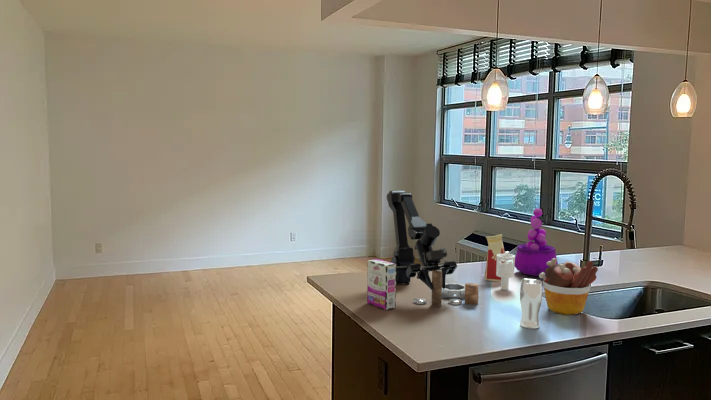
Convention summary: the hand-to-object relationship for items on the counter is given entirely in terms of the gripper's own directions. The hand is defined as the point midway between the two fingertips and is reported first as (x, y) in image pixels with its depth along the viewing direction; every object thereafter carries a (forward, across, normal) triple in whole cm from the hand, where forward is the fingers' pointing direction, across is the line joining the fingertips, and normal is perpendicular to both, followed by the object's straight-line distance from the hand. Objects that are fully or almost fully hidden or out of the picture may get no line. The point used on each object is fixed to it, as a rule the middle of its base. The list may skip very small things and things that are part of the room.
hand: (438, 288), depth 203 cm
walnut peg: (+4, 0, +6) cm, 7 cm away
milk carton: (-15, +41, +25) cm, 51 cm away
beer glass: (+24, +20, -15) cm, 35 cm away
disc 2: (+3, +8, +6) cm, 11 cm away
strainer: (-4, +36, +14) cm, 39 cm away
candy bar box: (0, -19, +10) cm, 22 cm away
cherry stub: (+4, +14, +5) cm, 15 cm away
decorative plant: (-16, +63, +26) cm, 70 cm away
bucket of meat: (+18, +42, -8) cm, 46 cm away
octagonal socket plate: (-4, +13, +13) cm, 19 cm away
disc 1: (0, -4, +10) cm, 10 cm away
